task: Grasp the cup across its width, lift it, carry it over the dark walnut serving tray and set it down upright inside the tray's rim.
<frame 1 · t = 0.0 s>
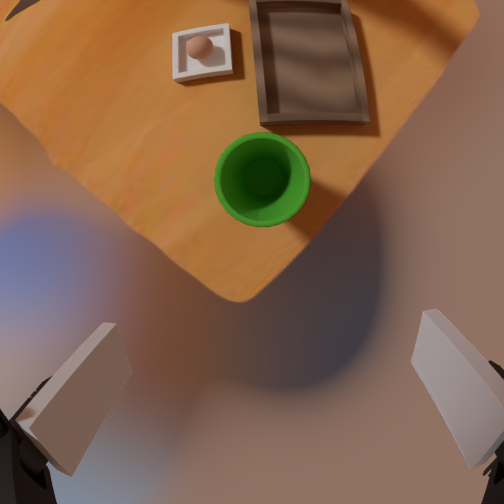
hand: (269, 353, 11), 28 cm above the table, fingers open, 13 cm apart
tray: (306, 57, 30), on the table
ball: (202, 52, 30), point 1 cm above the table, touching dish
dish: (203, 54, 31), on the table
cup: (264, 177, 36), on the table
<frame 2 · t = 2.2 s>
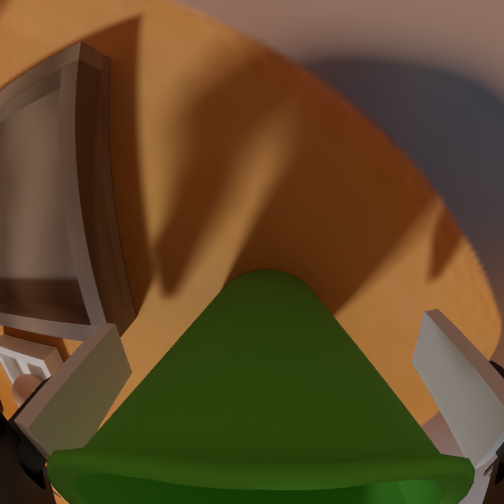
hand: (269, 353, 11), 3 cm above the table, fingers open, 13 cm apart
tray: (4, 212, 13), on the table
ball: (41, 382, 16), point 1 cm above the table, touching dish
dish: (45, 378, 17), on the table
cup: (266, 314, 14), on the table
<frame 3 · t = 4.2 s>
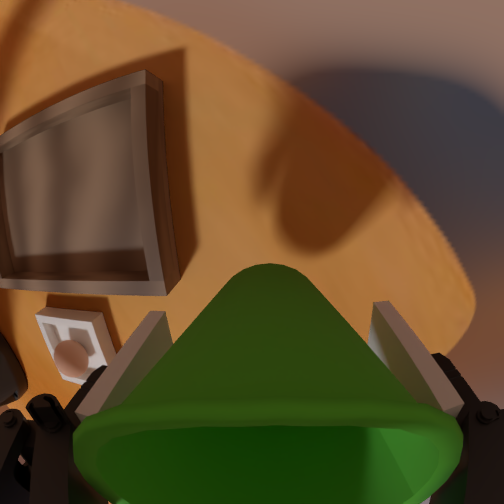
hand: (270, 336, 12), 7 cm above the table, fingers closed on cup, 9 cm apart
tray: (61, 198, 18), on the table
ball: (80, 348, 22), point 1 cm above the table, touching dish
dish: (83, 345, 22), on the table
cup: (269, 306, 15), point 4 cm above the table, touching gripper
when the fingers open (4 cm above the table, at t = 9.5 s): cup stays where it is, resting on tray.
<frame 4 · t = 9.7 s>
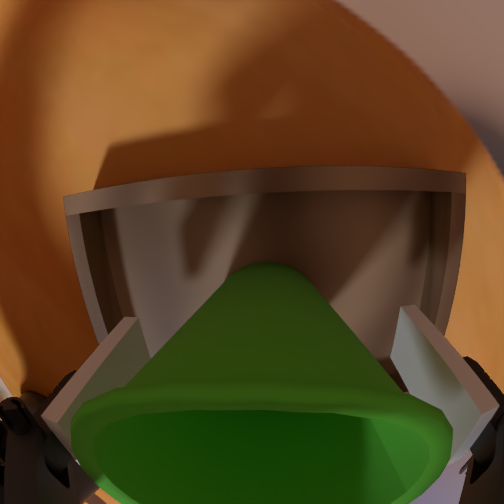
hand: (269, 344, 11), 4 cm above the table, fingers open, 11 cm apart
tray: (270, 299, 15), on the table
cup: (267, 304, 15), point 1 cm above the table, touching tray
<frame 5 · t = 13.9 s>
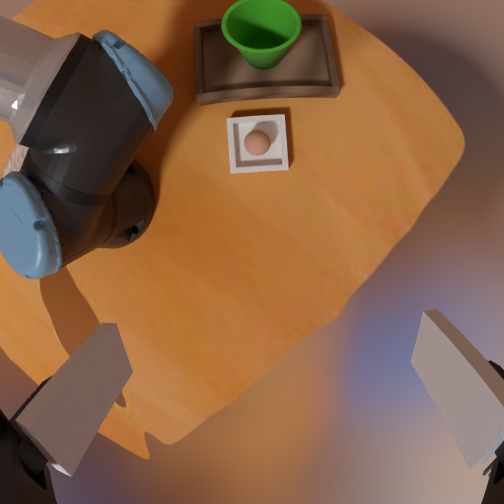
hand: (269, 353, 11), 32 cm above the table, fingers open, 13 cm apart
tray: (264, 57, 34), on the table
ball: (257, 144, 37), point 1 cm above the table, touching dish
dish: (258, 144, 38), on the table
cup: (263, 56, 33), point 1 cm above the table, touching tray
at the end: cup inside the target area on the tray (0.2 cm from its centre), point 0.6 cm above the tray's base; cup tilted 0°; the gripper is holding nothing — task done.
